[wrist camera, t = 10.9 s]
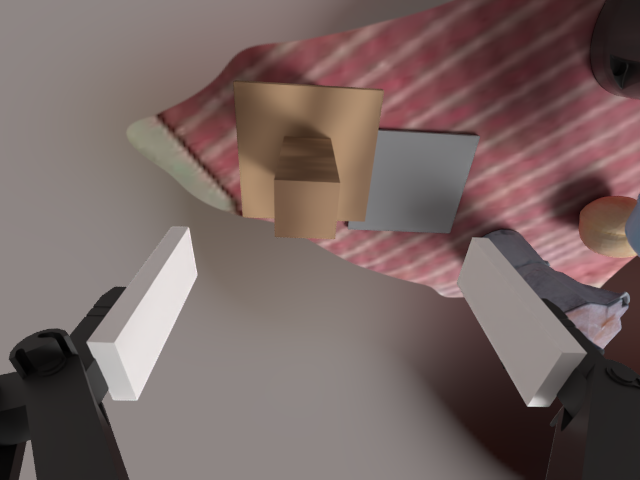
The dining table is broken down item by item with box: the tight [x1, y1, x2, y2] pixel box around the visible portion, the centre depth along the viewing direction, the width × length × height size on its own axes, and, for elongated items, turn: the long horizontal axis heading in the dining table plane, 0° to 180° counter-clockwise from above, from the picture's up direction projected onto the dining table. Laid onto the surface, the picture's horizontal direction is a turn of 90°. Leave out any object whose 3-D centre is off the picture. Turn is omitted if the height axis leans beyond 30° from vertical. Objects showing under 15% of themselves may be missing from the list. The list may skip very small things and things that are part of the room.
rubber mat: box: [348, 129, 480, 233], centre depth 45 cm, size 15×14×1 cm
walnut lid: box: [233, 80, 384, 239], centre depth 26 cm, size 12×12×11 cm
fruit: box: [579, 196, 637, 258], centre depth 45 cm, size 8×8×8 cm
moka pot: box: [482, 230, 630, 370], centre depth 43 cm, size 10×15×20 cm, turn 148°
